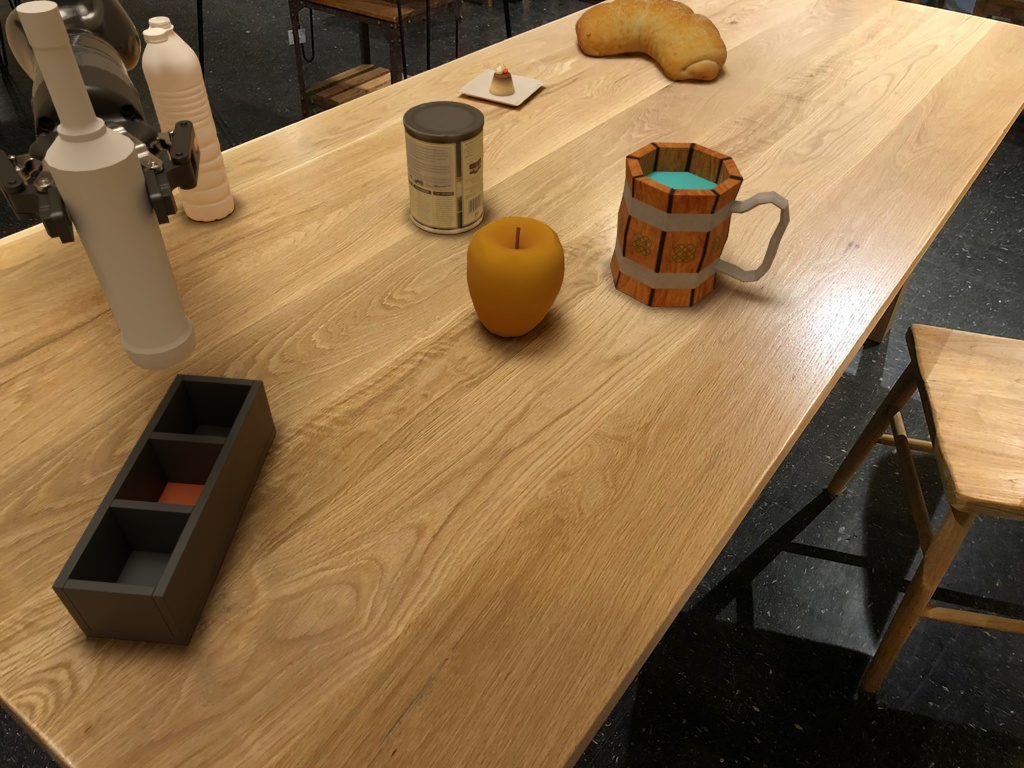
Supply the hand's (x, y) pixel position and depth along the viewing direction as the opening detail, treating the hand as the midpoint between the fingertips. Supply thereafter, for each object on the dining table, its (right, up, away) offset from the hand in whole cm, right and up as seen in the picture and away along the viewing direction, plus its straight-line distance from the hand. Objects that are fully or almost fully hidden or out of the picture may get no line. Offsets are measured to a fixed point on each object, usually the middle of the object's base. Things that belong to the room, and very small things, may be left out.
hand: (112, 220), depth 49 cm
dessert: (+24, +42, +89) cm, 101 cm away
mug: (+47, +2, +48) cm, 67 cm away
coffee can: (+16, +13, +58) cm, 61 cm away
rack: (-3, -23, +19) cm, 30 cm away
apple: (+26, -4, +41) cm, 48 cm away
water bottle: (-16, +13, +56) cm, 59 cm away
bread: (+53, +55, +105) cm, 130 cm away
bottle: (-2, -8, +11) cm, 13 cm away
